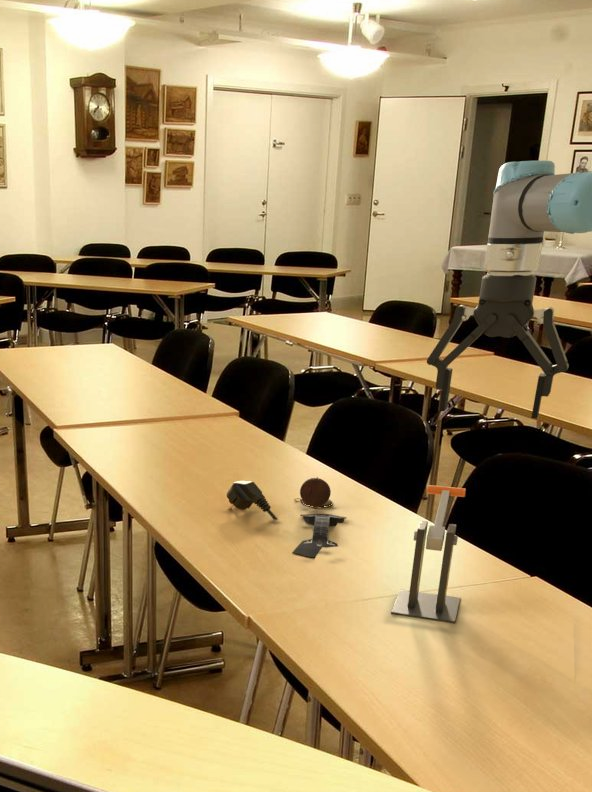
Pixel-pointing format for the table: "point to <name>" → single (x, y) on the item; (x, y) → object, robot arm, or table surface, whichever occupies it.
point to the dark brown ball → (315, 493)
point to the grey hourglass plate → (318, 534)
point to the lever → (440, 515)
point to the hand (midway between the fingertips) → (487, 413)
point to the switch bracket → (428, 603)
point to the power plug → (247, 497)
